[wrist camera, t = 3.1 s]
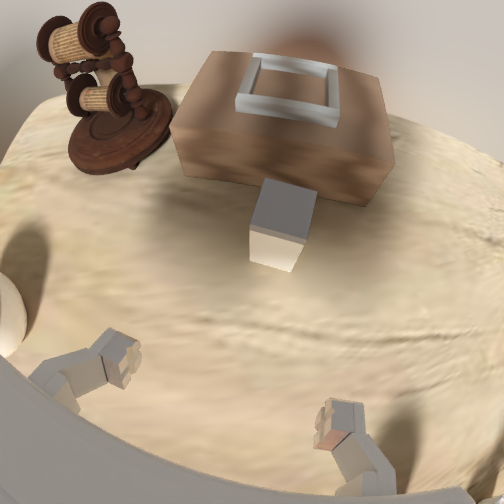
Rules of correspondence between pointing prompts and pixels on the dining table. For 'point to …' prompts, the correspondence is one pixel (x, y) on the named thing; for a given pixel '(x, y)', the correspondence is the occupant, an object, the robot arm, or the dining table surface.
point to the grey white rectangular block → (280, 224)
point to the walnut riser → (285, 125)
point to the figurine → (493, 500)
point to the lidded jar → (11, 317)
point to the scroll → (103, 92)
